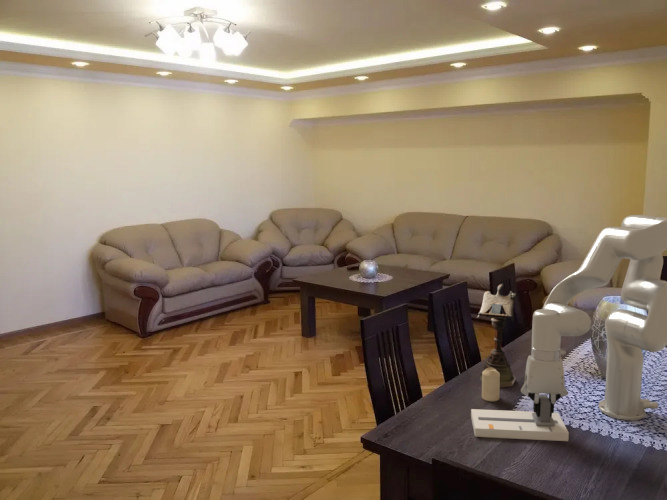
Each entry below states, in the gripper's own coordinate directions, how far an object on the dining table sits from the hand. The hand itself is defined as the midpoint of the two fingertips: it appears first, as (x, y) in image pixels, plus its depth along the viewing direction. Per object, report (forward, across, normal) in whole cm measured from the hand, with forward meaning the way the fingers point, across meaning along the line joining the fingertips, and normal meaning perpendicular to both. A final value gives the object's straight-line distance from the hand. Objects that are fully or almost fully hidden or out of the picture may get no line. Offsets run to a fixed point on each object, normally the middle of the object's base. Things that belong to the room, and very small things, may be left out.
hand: (543, 414), depth 155 cm
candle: (+5, +12, -20) cm, 24 cm away
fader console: (+5, +7, 0) cm, 8 cm away
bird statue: (+5, +8, -32) cm, 33 cm away
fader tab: (+2, 0, 0) cm, 2 cm away
